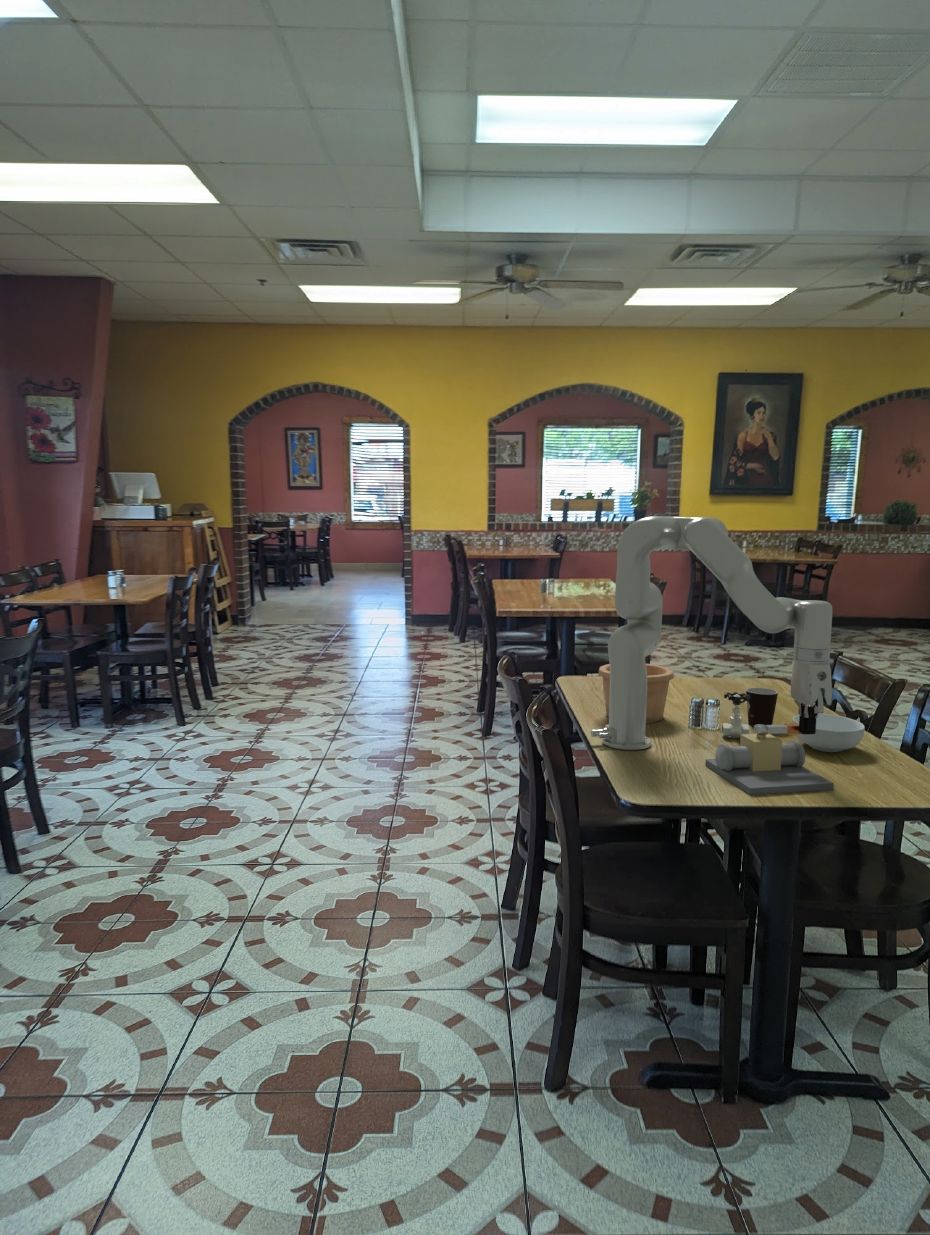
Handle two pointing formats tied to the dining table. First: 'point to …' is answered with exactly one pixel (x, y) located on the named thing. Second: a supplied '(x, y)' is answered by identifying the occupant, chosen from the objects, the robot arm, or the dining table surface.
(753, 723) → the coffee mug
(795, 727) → the valve lever
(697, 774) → the dining table surface
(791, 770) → the valve board
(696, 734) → the dining table surface
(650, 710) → the pottery
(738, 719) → the valve
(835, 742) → the cereal bowl
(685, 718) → the dining table surface
